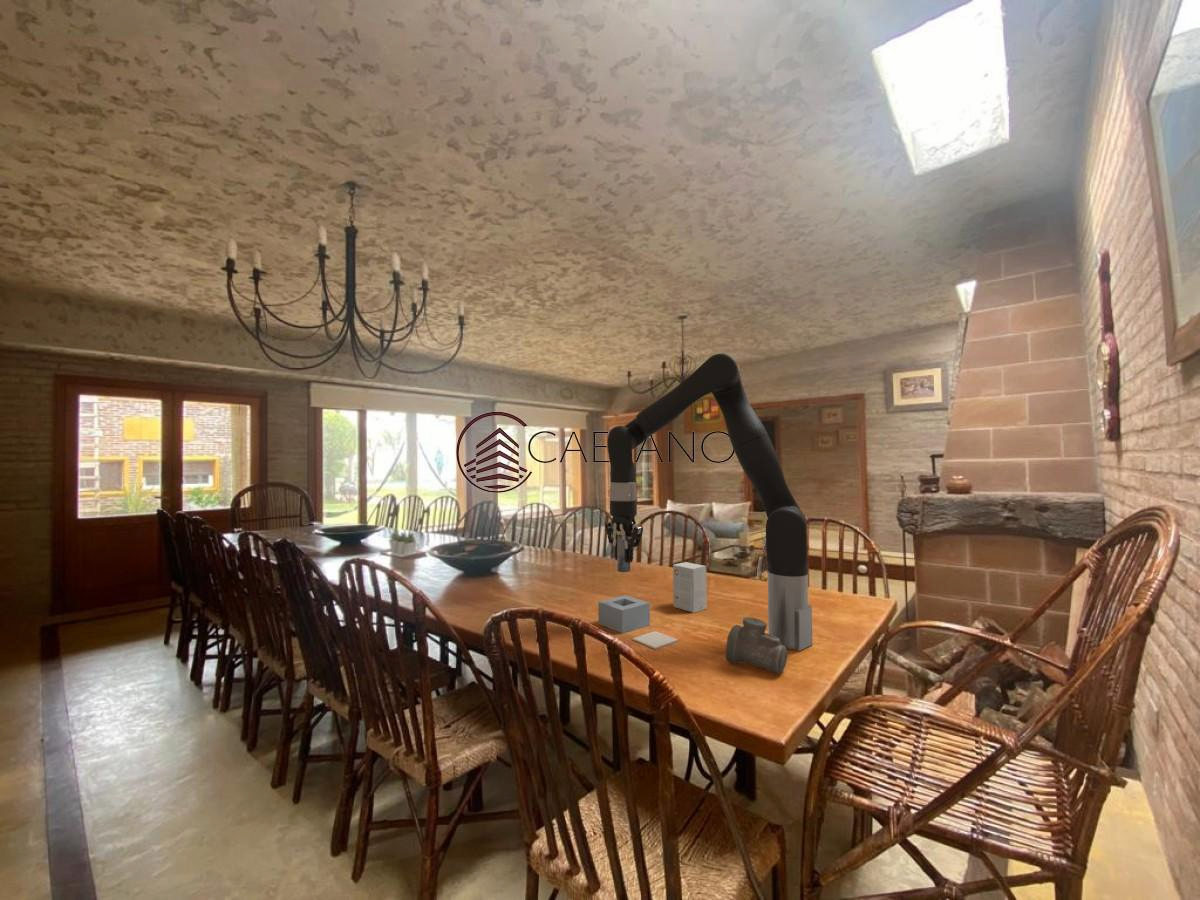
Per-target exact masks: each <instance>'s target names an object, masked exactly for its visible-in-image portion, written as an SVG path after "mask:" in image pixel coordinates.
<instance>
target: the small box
mask: <svg viewBox="0 0 1200 900" xmlns="http://www.w3.org/2000/svg"><path fill="white" fill-rule="evenodd" d="M672 570H673V571H672V585H673V586H672V588H673V590H672V595H673V597H672V598H673V608H676V609H680V610H683V611H686V612H689V613H693V614H694V613H698V612H701V611H703V610H707V608H708V605H707V601H708V600H707V566H706V565H701V564H696V563H692V562H687V561H685V562H680V563H676V564H675V563H674V564H673V565H672Z"/></svg>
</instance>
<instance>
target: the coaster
mask: <svg viewBox="0 0 1200 900" xmlns="http://www.w3.org/2000/svg"><path fill="white" fill-rule="evenodd" d="M632 641H635V642H637V643H639V644H641V645H644V646H646V647H649V648H650V649H653V650H659V649H660V648H664V647H667V646H670V645H672V644H675V643H677V642H679V639H677V638H675V637H673V636H669V635H666V634H664V633H661V632H659V631H656V630H655V631H651V632H648V633H645V634H643V635H639V636H635V637H633V638H632Z"/></svg>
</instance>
